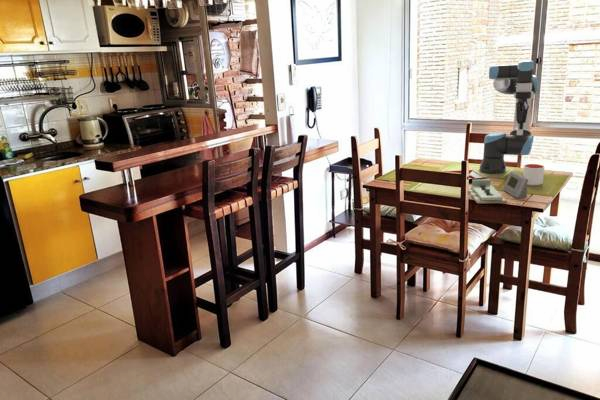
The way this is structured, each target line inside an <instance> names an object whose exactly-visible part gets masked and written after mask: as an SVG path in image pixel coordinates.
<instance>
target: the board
mask: <svg viewBox="0 0 600 400" xmlns="http://www.w3.org/2000/svg"><path fill="white" fill-rule="evenodd" d="M468 185H469V192H468V194H469V195H470V196H471V198H472V199H473V201H475V203H476V204H507V203H508V200H507V199H506V198H505V197H504V196H503V195H502V194H501V193H500V192H499V190H497V189H496V188H495V187H494V186H493V185H492V184H491V183H490V185H491V186H492V187H493V188H494V189H495V190H496V191H497V192H498V193H499V194H500V195H501V196H502V197H503V200H481V199H480V198H479V197H478V195H477V194H476V193H475V192H474V191H473V189H472V188H471V185H472V184H468ZM480 186H481V188H482V191H483V190H484V191H486V192H485V193H486V195H487V196H490V195H489V194H488V192H489V191H490V189H484V186H485V184H480Z"/></svg>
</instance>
